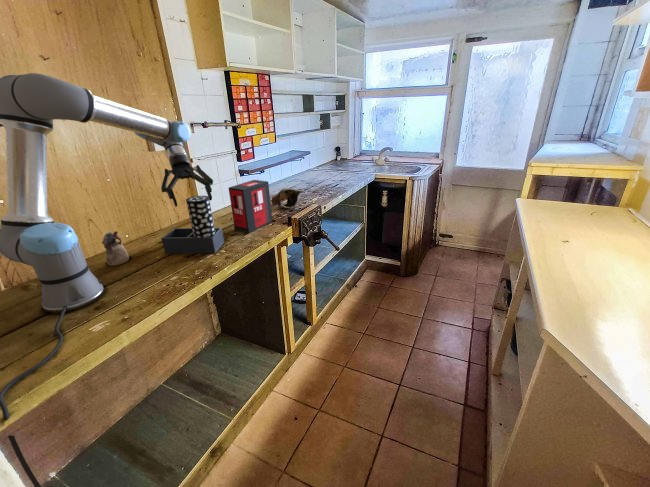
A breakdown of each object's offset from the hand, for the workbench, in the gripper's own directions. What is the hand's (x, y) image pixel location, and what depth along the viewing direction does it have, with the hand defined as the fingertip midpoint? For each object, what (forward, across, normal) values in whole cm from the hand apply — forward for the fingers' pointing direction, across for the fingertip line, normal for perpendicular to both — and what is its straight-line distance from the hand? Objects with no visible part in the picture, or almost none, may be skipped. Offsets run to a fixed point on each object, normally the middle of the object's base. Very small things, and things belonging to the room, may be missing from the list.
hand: (194, 201), depth 127 cm
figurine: (+12, +31, -14) cm, 36 cm away
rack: (+16, +4, -10) cm, 19 cm away
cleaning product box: (+9, -26, -16) cm, 32 cm away
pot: (-3, -52, -29) cm, 60 cm away
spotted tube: (+17, 0, -7) cm, 19 cm away
